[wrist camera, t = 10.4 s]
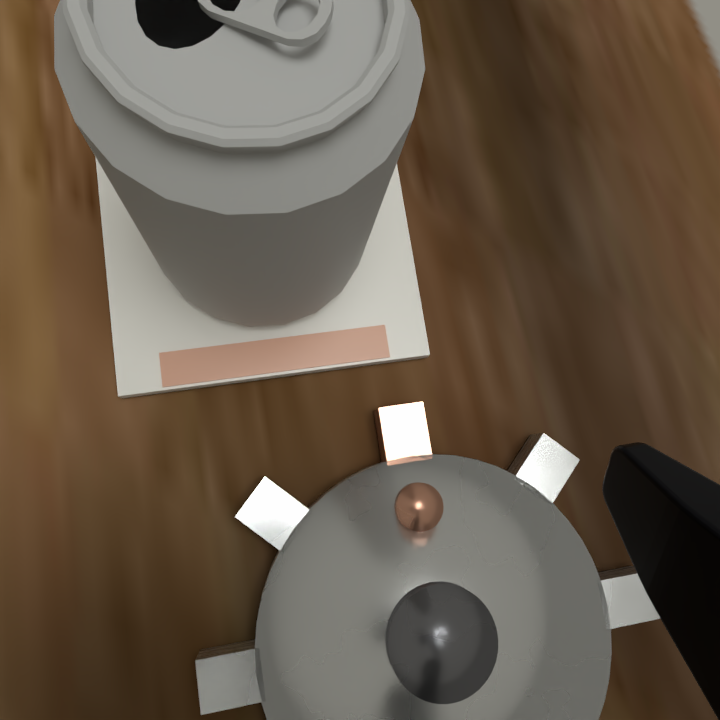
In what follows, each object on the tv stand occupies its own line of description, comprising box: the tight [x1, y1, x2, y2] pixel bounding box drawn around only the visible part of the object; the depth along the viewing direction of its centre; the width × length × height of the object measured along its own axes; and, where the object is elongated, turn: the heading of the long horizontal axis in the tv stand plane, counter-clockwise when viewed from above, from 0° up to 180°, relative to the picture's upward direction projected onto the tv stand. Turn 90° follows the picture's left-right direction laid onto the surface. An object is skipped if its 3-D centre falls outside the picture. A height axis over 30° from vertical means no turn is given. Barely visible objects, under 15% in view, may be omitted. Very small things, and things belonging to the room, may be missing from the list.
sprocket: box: [195, 402, 660, 720], centre depth 21 cm, size 16×16×2 cm
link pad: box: [96, 158, 430, 398], centre depth 23 cm, size 11×11×1 cm
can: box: [54, 0, 425, 327], centre depth 17 cm, size 8×8×12 cm
